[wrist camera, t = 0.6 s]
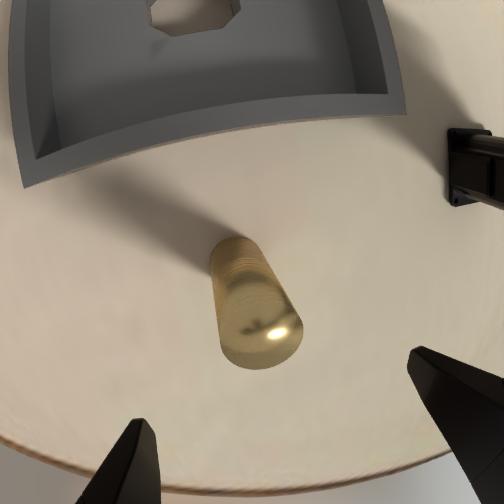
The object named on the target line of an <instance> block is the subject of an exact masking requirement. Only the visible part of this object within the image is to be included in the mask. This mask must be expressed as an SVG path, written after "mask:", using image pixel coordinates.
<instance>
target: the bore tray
mask: <svg viewBox="0 0 504 504" xmlns="http://www.w3.org/2000/svg"><path fill="white" fill-rule="evenodd" d="M155 1H156V0H12V7H11V16H10V28H9V48H8V75H9V96H10V108H11V118H12V126H13V134H14V141H15V147H16V153H17V158H18V164H19V169H20V173H21V178H22V182H23V187H24V189H25V188H27V187H30V186H33V185H36V184H39V183H42V182H45V181H48V180H51V179H54V178H57V177H60V176H63V175H67V174H70V173H73V172H76V171H78V170H81V169H84V168H87V167H90V166H93V165H96V164H99V163H103V162H106V161H109V160H112V159H116V158H119V157H122V156H126V155H129V154H133V153H136V152H140V151H144V150H148V149H151V148H155V147H159V146H163V145H168V144H172V143H176V142H180V141H185V140H189V139H194V138H199V137H204V136H209V135H214V134H219V133H225V132H231V131H236V130H243V129H249V128H255V127H262V126H270V125H277V124H286V123H295V122H304V121H315V120H327V119H343V118H359V117H372V116H388V115H407V112H406V104H405V97H404V91H403V85H402V79H401V73H400V68H399V63H398V58H397V54H396V49H395V45H394V40H393V36H392V32H391V28H390V25H389V21H388V17H387V14H386V10H385V7H384V4H383V1H382V0H230V1H231V6H232V12H233V18H232V19H231V20H230V21H229V22H228V23H227V25H226V26H225V27H224V28H223V29H216V30H209V31H202V32H196V33H190V34H185V35H180V36H175V37H171V36H169V35H168V34H166V33H164V32H162V31H160V30H158V29H156V28H154V27H152V19H151V10H150V6H151V5H152V4H153V3H154V2H155Z"/></svg>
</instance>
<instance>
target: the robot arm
mask: <svg viewBox="0 0 504 504" xmlns="http://www.w3.org/2000/svg"><path fill="white" fill-rule="evenodd" d="M448 148H449V178H450V192H449V202H450V205H451V206H454V207H458V206H462V205H467V204H471V203H476V202H482V203H485V204H488V205H491V206H493V207H496V208H499V209H501V210H504V138H502V137H496V136H492V133H491V131H490V130H481V129H465V128H449V129H448ZM407 371H408V373H409V375H410V377H411V379H412V381H413V383H414V385H415V387H416V389H417V391H418V393H419V396H420V398H421V400H422V402H423V404H424V405H425V407H426V409H427V410H428V412H429V413H430V415H431V417H432V418H433V420H434V421H435V423H436V425H437V426H438V428H439V430H440V431H441V433H442V435H443V436H444V438H445V440H446V441H447V443H448V445H449V446H450V448H451V450H452V451H453V453H454V455H455V456H456V458H457V460H458V462H459V463H460V465H461V467H462V469H463V470H464V472H465V474H466V476H467V478H468V479H469V481H470V483H471V485H472V487H473V489H474V491H475V493H476V495H477V496H478V498H479V500H480V502H481V504H504V378H501V377H499V376H496V375H494V374H491V373H489V372H486V371H484V370H481V369H478V368H476V367H473V366H471V365H468V364H466V363H463V362H461V361H458V360H456V359H453V358H451V357H448V356H446V355H443V354H441V353H438V352H436V351H433V350H431V349H428V348H426V347H424V346H418V347H416V348H414V349H412V350H411V351H410V355H409V359H408V363H407ZM75 504H161V480H160V469H159V461H158V453H157V444H156V436H155V433H154V431H153V430H152V428H151V427H150V425H149V424H148V422H147V421H146V420H145V419H144V418H137V419H132V420H131V421H130V423H129V424H128V426H127V427H126V429H125V430H124V432H123V433H122V435H121V436H120V438H119V439H118V441H117V442H116V443H115V445H114V446H113V448H112V449H111V451H110V452H109V454H108V455H107V457H106V458H105V460H104V461H103V463H102V464H101V466H100V467H99V469H98V470H97V472H96V473H95V475H94V476H93V478H92V479H91V481H90V482H89V484H88V485H87V487H86V488H85V490H84V491H83V493H82V495H81V496H80V497H79V498H78V500H77V502H76V503H75Z"/></svg>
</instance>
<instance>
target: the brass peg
mask: <svg viewBox="0 0 504 504" xmlns="http://www.w3.org/2000/svg"><path fill="white" fill-rule="evenodd" d="M210 270H211V278H212V286H213V294H214V301H215V309H216V316H217V323H218V330H219V337H220V344H221V349H222V351H223V353H224V355H225V356H226V358H227V359H228V360H229V361H231V362H232V363H233V364H235V365H237V366H239V367H242V368H246V369H253V370H259V369H266V368H270V367H273V366H276V365H278V364H280V363H282V362H284V361H285V360H287V359H288V358H289V357H290V356H291V355H292V354H293V353H294V352H295V351H296V350H297V349H298V347H299V345H300V343H301V341H302V338H303V324H302V321H301V319H300V317H299V315H298V314H297V312H296V310H295V308H294V307H293V305H292V303H291V301H290V300H289V298H288V296H287V294H286V293H285V291H284V289H283V288H282V286H281V284H280V282H279V281H278V279H277V277H276V275H275V274H274V272H273V270H272V269H271V267H270V265H269V263H268V262H267V260H266V258H265V257H264V255H263V253H262V251H261V250H260V248H259V247H258V245H257V244H256V243H255V242H253V241H252V240H250V239H247V238H244V237H231V238H228V239H226V240H224V241H222V242H221V243H219V244H218V245H217V246H216V247H215V249H214V250H213V252H212V254H211V258H210Z"/></svg>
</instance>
